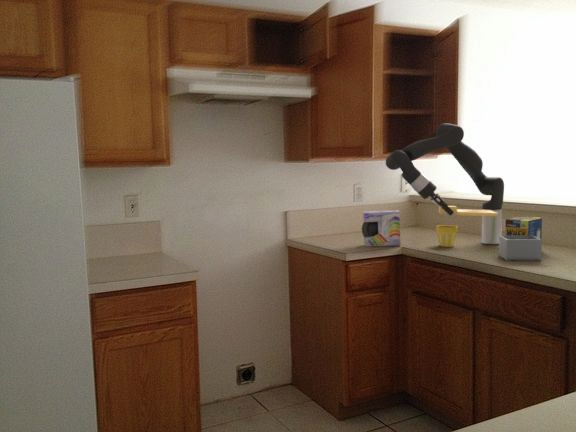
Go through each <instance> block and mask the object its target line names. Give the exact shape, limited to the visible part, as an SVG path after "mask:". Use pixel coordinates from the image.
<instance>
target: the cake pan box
mask: <svg viewBox="0 0 576 432" xmlns="http://www.w3.org/2000/svg"><path fill="white" fill-rule="evenodd" d="M362 215H363V222H362V226H361V232H362V233H361V234H362V235H363V243H364V247H389V246H401V245H402V241H401V212H400V210H398V209H397V210H366V211H365V210H364V211H363V214H362Z"/></svg>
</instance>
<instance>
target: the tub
mask: <svg viewBox="0 0 576 432" xmlns="http://www.w3.org/2000/svg"><path fill="white" fill-rule="evenodd" d="M542 240H543V239H542V238H541V239H539V238H537V237H535V236H533V235H521V236H505V235H501V236H499V244H498V256H499V257H500V258H501V257H502V258H501V259H503V258H504V259H505V260H504V259H503V260H504V261H506V260H541V261H542V243H543V241H542Z"/></svg>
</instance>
